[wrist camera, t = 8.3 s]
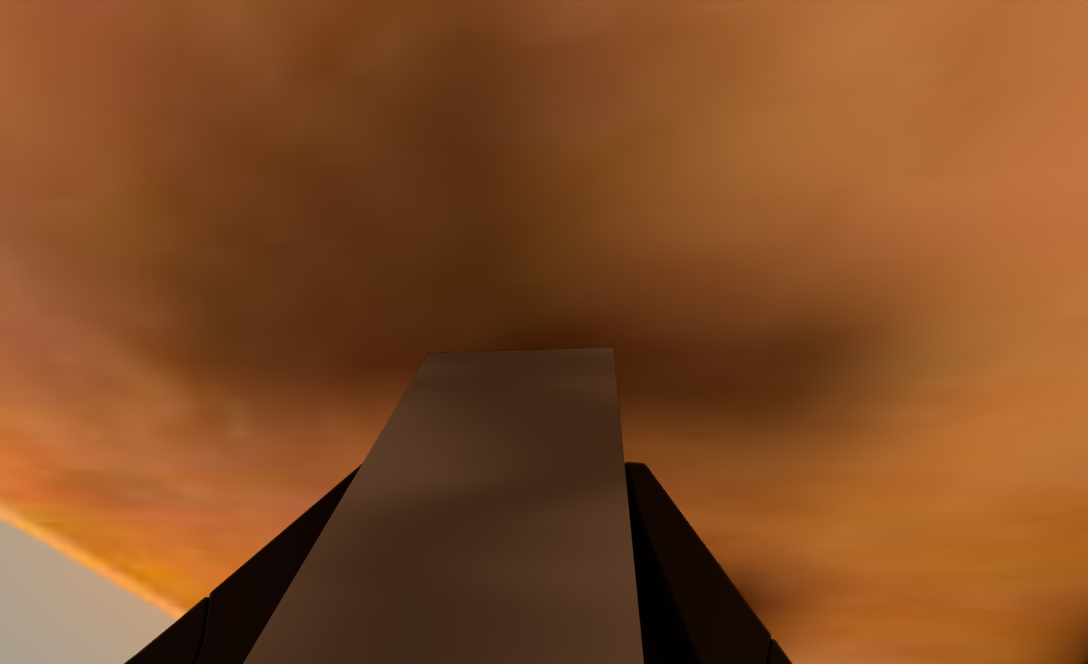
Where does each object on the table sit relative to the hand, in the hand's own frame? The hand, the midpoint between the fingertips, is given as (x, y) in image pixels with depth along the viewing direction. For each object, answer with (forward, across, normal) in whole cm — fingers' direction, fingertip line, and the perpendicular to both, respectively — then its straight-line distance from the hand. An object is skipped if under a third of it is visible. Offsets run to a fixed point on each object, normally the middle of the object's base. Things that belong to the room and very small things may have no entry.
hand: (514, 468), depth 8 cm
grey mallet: (+2, -1, +7) cm, 7 cm away
